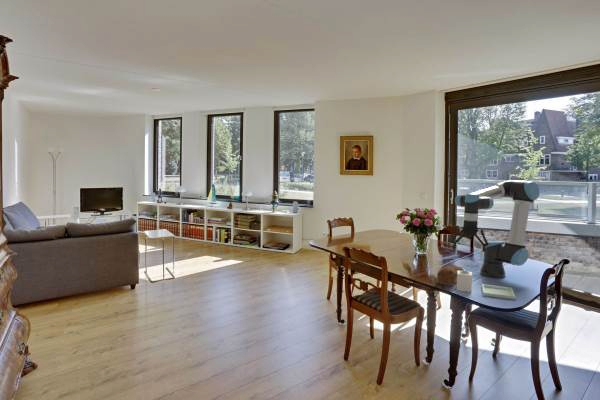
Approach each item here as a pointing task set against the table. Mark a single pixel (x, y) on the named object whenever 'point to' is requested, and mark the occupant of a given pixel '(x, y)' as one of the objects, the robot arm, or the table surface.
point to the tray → (498, 291)
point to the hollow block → (464, 281)
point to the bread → (448, 275)
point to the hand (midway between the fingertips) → (468, 255)
